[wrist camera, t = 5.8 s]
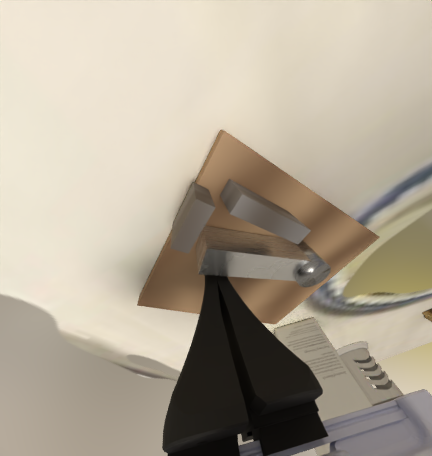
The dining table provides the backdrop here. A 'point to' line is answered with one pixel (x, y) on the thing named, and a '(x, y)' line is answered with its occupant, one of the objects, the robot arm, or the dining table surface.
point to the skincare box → (324, 371)
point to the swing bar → (258, 257)
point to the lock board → (249, 231)
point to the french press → (368, 373)
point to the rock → (428, 314)
